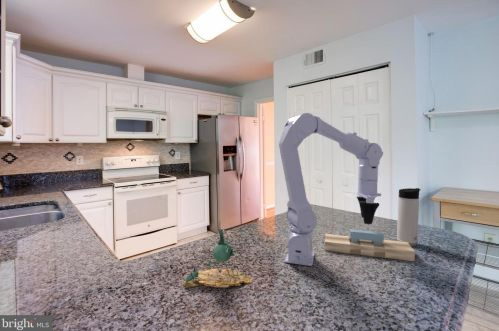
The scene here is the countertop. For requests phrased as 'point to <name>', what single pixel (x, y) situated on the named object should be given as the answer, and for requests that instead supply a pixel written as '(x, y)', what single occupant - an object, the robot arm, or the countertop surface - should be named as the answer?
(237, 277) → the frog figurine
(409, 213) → the travel mug
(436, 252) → the countertop surface
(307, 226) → the robot arm
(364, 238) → the clip
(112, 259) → the countertop surface
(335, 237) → the rail
